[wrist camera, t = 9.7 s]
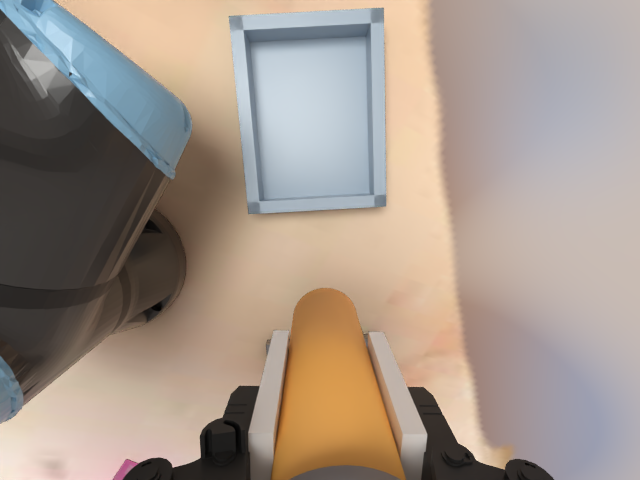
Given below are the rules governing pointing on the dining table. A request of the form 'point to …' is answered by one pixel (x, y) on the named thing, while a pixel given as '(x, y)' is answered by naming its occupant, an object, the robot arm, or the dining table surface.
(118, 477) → the gum box
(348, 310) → the lock pin
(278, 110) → the tray
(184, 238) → the dining table surface
